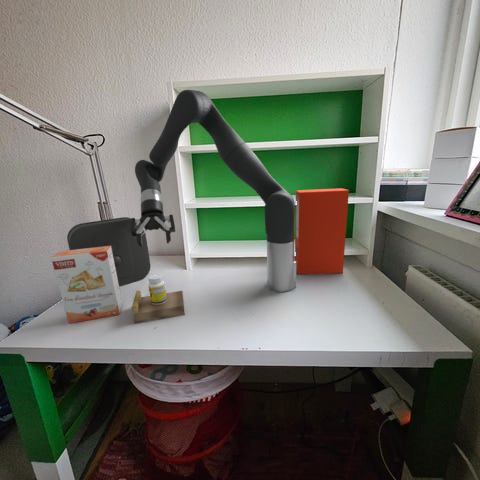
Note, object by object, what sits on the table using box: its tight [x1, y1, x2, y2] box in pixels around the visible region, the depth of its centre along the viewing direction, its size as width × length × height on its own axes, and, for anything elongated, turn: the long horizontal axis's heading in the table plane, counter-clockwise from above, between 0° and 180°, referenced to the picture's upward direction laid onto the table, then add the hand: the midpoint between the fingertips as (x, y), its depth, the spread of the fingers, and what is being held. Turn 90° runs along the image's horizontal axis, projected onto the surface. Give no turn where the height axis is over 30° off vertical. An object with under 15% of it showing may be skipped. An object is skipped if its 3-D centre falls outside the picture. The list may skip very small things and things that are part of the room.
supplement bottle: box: [147, 273, 167, 305], centre depth 75 cm, size 5×5×8 cm
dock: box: [131, 290, 186, 324], centre depth 76 cm, size 14×10×5 cm
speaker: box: [66, 216, 152, 288], centre depth 94 cm, size 25×9×25 cm, turn 129°
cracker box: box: [50, 246, 123, 324], centre depth 74 cm, size 14×6×21 cm, turn 105°
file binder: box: [294, 188, 350, 275], centre depth 97 cm, size 8×17×32 cm, turn 88°
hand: (154, 243), depth 82 cm, fingers open, 8 cm apart
